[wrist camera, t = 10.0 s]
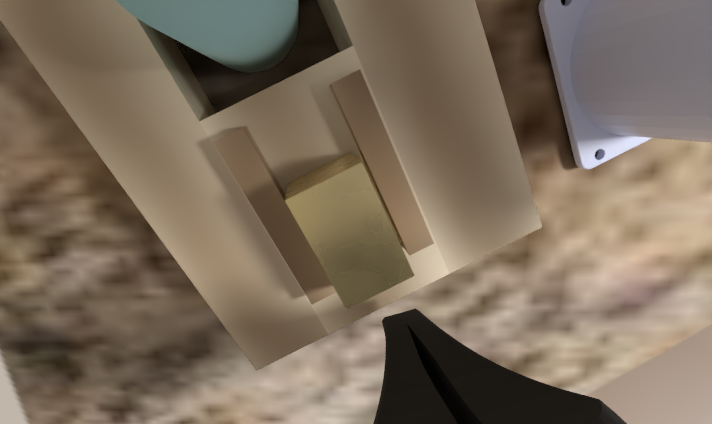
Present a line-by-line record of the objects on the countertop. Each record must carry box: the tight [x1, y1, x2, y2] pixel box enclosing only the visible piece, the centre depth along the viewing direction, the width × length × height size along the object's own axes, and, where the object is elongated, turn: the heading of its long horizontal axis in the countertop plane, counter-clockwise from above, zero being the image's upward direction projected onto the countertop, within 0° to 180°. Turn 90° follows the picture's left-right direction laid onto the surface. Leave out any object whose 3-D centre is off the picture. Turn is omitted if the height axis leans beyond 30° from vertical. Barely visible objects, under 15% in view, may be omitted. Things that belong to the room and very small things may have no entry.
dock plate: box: [0, 0, 542, 371], centre depth 12 cm, size 13×17×4 cm
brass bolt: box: [285, 152, 415, 310], centre depth 11 cm, size 2×4×2 cm, turn 25°
